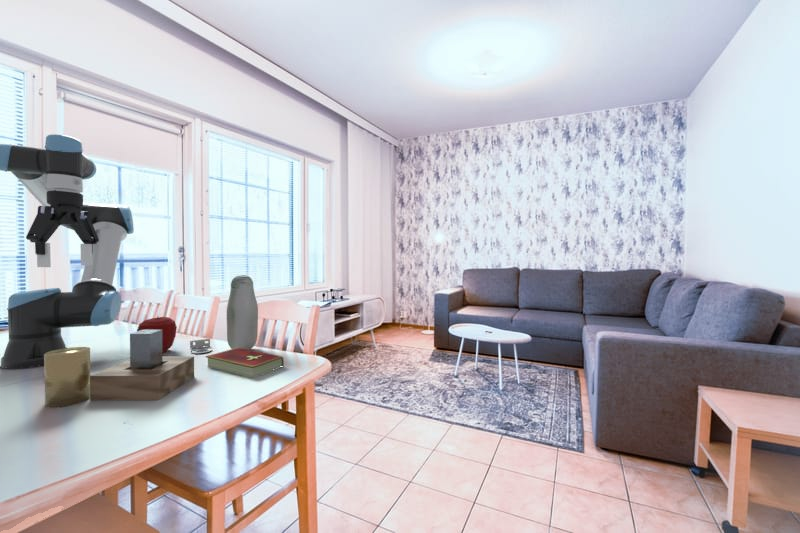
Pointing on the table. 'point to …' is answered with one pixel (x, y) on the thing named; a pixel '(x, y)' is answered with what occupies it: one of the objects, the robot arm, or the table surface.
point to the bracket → (200, 344)
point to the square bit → (146, 349)
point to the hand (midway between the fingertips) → (66, 266)
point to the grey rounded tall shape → (242, 314)
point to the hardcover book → (244, 362)
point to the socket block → (141, 380)
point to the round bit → (67, 376)
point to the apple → (161, 324)
